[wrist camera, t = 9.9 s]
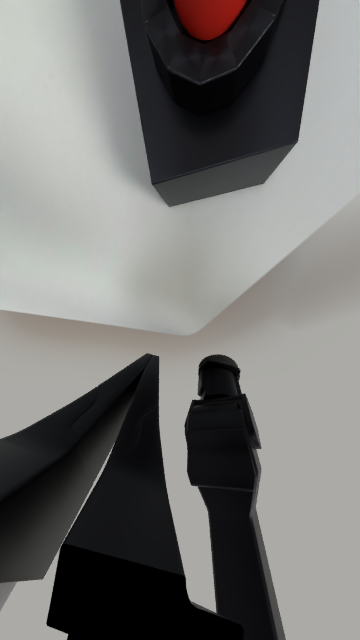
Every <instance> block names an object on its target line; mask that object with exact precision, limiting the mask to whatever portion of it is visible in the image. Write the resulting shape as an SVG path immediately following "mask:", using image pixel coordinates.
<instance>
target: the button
mask: <svg viewBox="0 0 360 640" xmlns="http://www.w3.org/2000/svg"><path fill="white" fill-rule="evenodd" d="M173 1H174V5H175V9H176V12H177V14H178V17H179V19H180V21H181V23H182V25H183V27H184V28H185V29H186V31H187V32H188V33H189V34H190V35H191V36H193V37H194V38H196V39H198V40H203V41H208V40H212V39H215V38H217V37H219V36H220V35H222V34H223V33H224V32H226V31H227V30H228V29H229V28H230V27H231V26H232V24H233V23H234V22H235V20H236V19H237V18H238V16H239V15H240V13H241V11H242V10H243V8H244V6H245V4H246V2H247V0H173Z"/></svg>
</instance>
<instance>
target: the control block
mask: <svg viewBox="0 0 360 640" xmlns="http://www.w3.org/2000/svg"><path fill="white" fill-rule="evenodd" d="M120 4H121V10H122V15H123V21H124V27H125V33H126V38H127V44H128V50H129V56H130V61H131V67H132V73H133V79H134V84H135V90H136V96H137V101H138V107H139V113H140V119H141V124H142V130H143V136H144V142H145V147H146V153H147V159H148V164H149V170H150V176H151V182H152V185H153V186H154V188H155V189H156V190H157V192H158V193H159V194H160V195H161V197H162V198H163V199H164V201H165V202H166V203H167V204H168V206H169V207H171V206H175V205H179V204H183V203H187V202H191V201H195V200H199V199H203V198H207V197H211V196H215V195H219V194H223V193H227V192H231V191H235V190H239V189H243V188H247V187H251V186H255V185H259V184H263V183H264V182H265V181H266V180H267V179H268V178H269V176H270V175H271V174H272V173H273V171H274V170H275V169H276V168H277V166H278V165H279V164H280V163H281V162H282V160H283V159H284V158H285V157H286V155H287V154H288V153H289V152H290V151H291V149H292V148H293V147H294V146H295V144H296V143H297V142H298V138H299V131H300V124H301V118H302V111H303V105H304V98H305V92H306V85H307V78H308V72H309V65H310V59H311V52H312V46H313V39H314V33H315V26H316V19H317V13H318V6H319V0H247V2H246V4H245V6H244V8H243V10H242V11H241V13H240V15H239V16H238V18H237V19H236V20H235V22H234V23H233V24H232V26H231V27H230V28H229V29H228V30H227V31H226V32H224V33H223V34H222V35H220V36H219V37H217V38H215V39H212V40H208V41H203V40H198V39H196V38H194V37H193V36H191V35H190V34H189V33H188V32H187V31H186V29H185V28H184V27H183V25H182V23H181V21H180V19H179V17H178V14H177V12H176V9H175V5H174V1H173V0H120Z"/></svg>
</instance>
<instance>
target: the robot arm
mask: <svg viewBox="0 0 360 640" xmlns="http://www.w3.org/2000/svg"><path fill="white" fill-rule="evenodd" d="M237 370H238V371H237ZM240 372H241V371H240V369H239V368H237V367H233V366H229V365H225V364H222V363H218V362H214V361H210V360H207V361H206V364H205V366H204V368H203V369H202V370H201V372H200V375H199V382H198V395H199V396H201V400H192V403H191V406H190V409H189V412H188V415H187V418H186V422H185V436H186V441H187V450H188V458H187V473H188V477H189V480H190V483H191V485H192V486H198V489H199V491H200V493H201V495H202V498H203V500H204V503H205V505H206V507H207V510H208V516H209V526H210V538H211V551H212V563H213V574H214V587H215V600H216V612H217V613H215V612H213V611H210V610H208V609H206V608H204V607H202V606H200V605H198V604H196V603H194V602H191V601H190V600H189V597H188V594H187V589H186V578H185V574H184V570H183V565H182V560H181V555H180V551H179V547H178V541H177V537H176V533H175V527H174V523H173V518H172V513H171V509H170V504H169V499H168V494H167V488H166V482H165V474H164V466H163V458H162V448H161V440H160V430H159V356H156V355H152V354H148V353H147V354H145V355H144V356H142V357H141V358H139V359H138V360H136V361H135V362H133V363H132V364H130V365H129V366H127V367H126V368H124V369H123V370H121V371H120V372H118V373H117V374H115V375H114V376H112V377H111V378H109V379H108V380H106V381H105V382H103V383H102V384H100V385H99V386H98V387H95V388H94V389H92V390H91V391H89V392H88V393H86V394H85V395H83V396H82V397H80V398H78V399H77V400H75V401H73V402H72V403H70V404H68V405H66V406H65V407H63V408H61V409H59V410H58V411H56V412H54V413H52V414H51V415H49V416H47V417H45V418H43V419H42V420H40V421H38V422H36V423H35V424H33V425H31V426H29V427H27V428H25V429H23V430H21V431H19V432H17V433H15V434H12V435H10V436H7V437H5V438H2V439H0V610H1V609H2V607H3V605H4V603H5V602H6V600H7V598H8V596H9V595H10V593H11V591H12V590H13V588H14V586H15V584H16V582H18V581H28V580H38V579H43V578H44V576H45V574H46V573H47V571H48V569H49V567H50V565H51V563H52V561H53V559H54V557H55V555H56V554H57V552H58V550H59V548H60V546H61V544H62V542H63V540H64V538H65V536H66V535H67V533H68V530H69V529H70V527H71V524H72V523H73V521H74V519H75V517H76V515H77V513H78V511H79V510H80V508H81V506H82V504H83V502H84V500H85V498H86V496H87V494H88V493H89V491H90V489H91V487H92V485H93V482H94V481H95V479H96V477H97V475H98V473H99V471H100V470H101V468H102V466H103V464H104V462H105V460H106V458H107V456H108V454H109V452H110V450H111V449H112V447H113V449H112V452H111V454H110V457H109V459H108V461H107V464H106V466H105V468H104V470H103V472H102V474H101V476H100V478H99V480H98V481H97V483H96V485H95V487H94V489H93V491H92V492H91V494H90V496H89V497H88V499H87V501H86V503H85V505H84V506H83V508H82V510H81V512H80V514H79V515H78V517H77V519H76V521H75V522H74V524H73V526H72V528H71V530H70V532H69V533H68V535H67V537H66V538H65V540H64V542H63V544H62V546H61V548H60V553H59V559H58V564H57V569H56V575H55V581H54V586H53V592H52V597H51V603H50V608H49V613H48V618H47V626H49V627H52V628H54V629H57V630H59V631H62V632H65V633H67V634H68V638H67V640H286V639H285V634H284V630H283V626H282V621H281V617H280V612H279V608H278V604H277V599H276V595H275V591H274V586H273V582H272V578H271V573H270V569H269V565H268V560H267V556H266V551H265V547H264V542H263V538H262V534H261V529H260V525H259V520H258V516H257V511H256V501H257V495H258V488H259V482H260V475H261V465H260V461H259V458H258V454H257V450H256V449H261V444H260V439H259V435H258V429H257V426H256V422H255V419H254V416H253V413H252V410H251V407H250V405H249V402H248V399H247V397H246V394H242V393H241V389H240V385H239V381H238V376H239V374H240ZM114 443H115V444H114ZM113 445H114V446H113Z"/></svg>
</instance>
